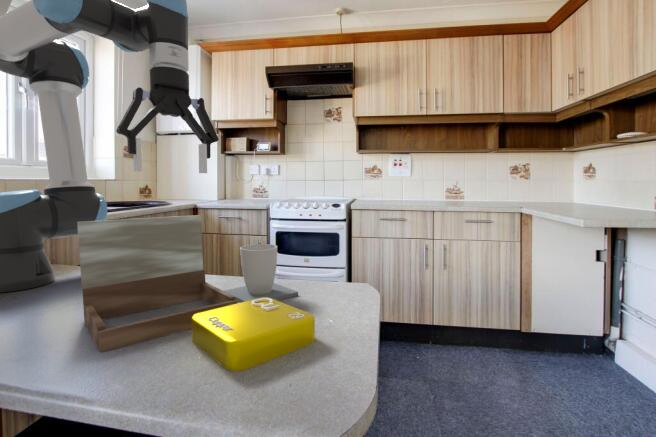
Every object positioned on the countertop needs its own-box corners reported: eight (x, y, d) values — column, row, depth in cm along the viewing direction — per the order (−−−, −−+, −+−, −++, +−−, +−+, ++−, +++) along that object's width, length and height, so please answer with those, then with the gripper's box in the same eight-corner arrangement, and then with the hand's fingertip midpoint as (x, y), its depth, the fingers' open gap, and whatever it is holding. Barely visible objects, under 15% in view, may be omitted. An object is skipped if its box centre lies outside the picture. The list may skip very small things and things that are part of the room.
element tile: (187, 341, 57) (186, 311, 57) (267, 317, 68) (267, 292, 67) (233, 377, 46) (232, 341, 46) (320, 343, 57) (320, 313, 56)
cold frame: (83, 320, 65) (77, 222, 64) (203, 296, 80) (200, 215, 78) (100, 352, 53) (92, 230, 51) (238, 316, 67) (235, 220, 65)
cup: (281, 286, 84) (280, 244, 83) (272, 297, 76) (272, 250, 75) (247, 285, 85) (246, 243, 84) (235, 296, 77) (234, 249, 76)
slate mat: (223, 294, 81) (223, 290, 81) (269, 284, 89) (269, 281, 89) (249, 307, 72) (249, 303, 72) (298, 295, 80) (298, 291, 80)
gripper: (104, 50, 64) (109, 170, 67) (232, 78, 81) (233, 173, 83) (96, 60, 70) (101, 170, 72) (218, 85, 87) (219, 173, 89)
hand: (172, 172), depth 78 cm, fingers open, 13 cm apart
